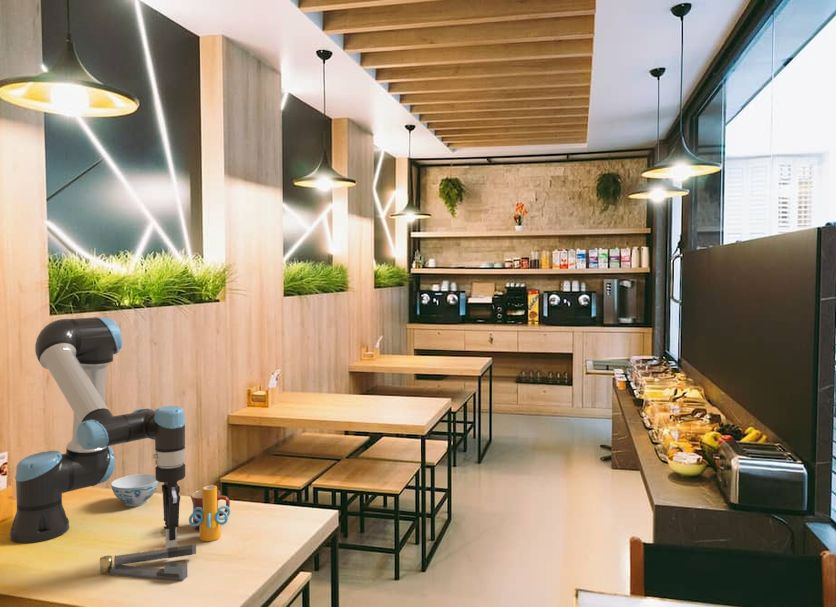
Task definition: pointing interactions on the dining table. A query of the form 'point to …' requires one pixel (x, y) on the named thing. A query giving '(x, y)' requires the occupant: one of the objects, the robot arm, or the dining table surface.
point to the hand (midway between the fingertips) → (171, 550)
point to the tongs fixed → (144, 570)
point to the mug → (198, 502)
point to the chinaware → (135, 488)
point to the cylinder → (209, 515)
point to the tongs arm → (155, 555)
